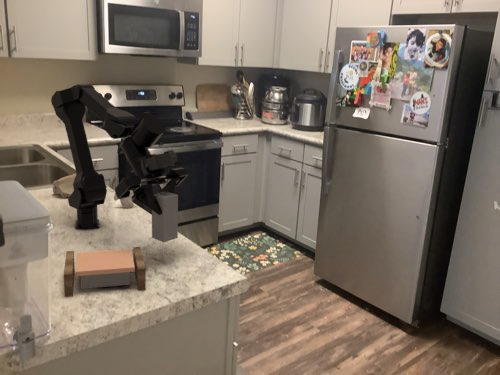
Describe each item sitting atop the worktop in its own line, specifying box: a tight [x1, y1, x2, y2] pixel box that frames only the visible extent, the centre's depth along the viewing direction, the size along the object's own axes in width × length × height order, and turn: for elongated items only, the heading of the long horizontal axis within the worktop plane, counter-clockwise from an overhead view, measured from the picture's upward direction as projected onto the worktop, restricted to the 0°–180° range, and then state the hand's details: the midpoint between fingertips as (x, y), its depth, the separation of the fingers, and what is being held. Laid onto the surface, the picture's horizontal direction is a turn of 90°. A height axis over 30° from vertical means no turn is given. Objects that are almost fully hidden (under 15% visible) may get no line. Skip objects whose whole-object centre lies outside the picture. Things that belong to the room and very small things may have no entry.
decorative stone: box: [52, 173, 76, 199], centre depth 161 cm, size 8×14×8 cm, turn 121°
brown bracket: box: [63, 246, 147, 298], centre depth 103 cm, size 12×16×5 cm
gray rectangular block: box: [151, 191, 179, 243], centre depth 112 cm, size 4×4×11 cm
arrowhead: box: [113, 190, 135, 209], centre depth 151 cm, size 8×3×10 cm, turn 113°
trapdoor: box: [74, 248, 135, 290], centre depth 103 cm, size 10×12×4 cm
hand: (168, 212), depth 111 cm, fingers closed on gray rectangular block, 4 cm apart
